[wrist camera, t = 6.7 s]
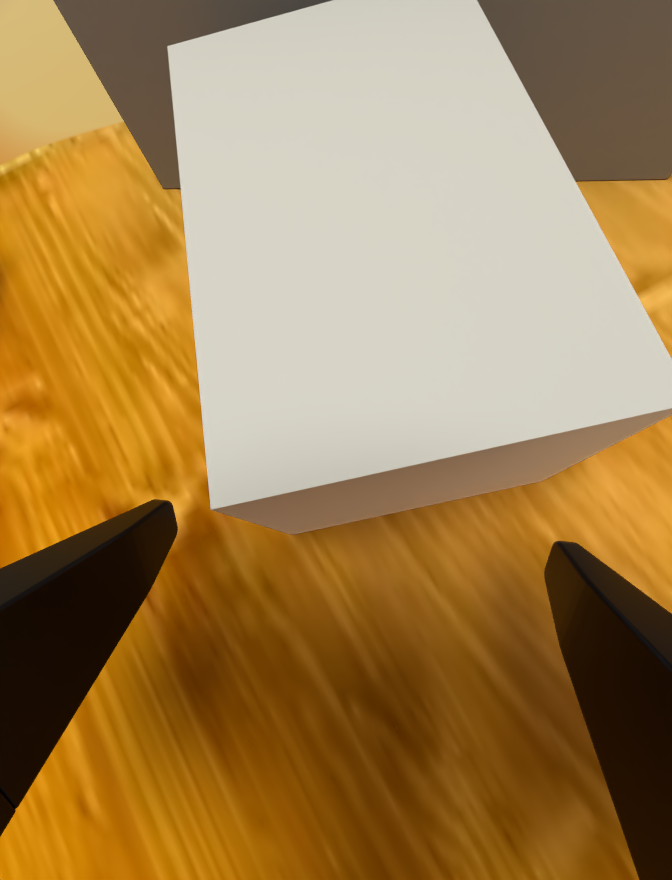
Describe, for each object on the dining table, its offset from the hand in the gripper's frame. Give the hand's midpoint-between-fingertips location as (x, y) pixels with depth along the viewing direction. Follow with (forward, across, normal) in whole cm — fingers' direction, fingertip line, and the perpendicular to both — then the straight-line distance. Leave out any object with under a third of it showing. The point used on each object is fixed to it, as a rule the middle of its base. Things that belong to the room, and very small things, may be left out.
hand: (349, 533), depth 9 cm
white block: (+11, 0, -2) cm, 11 cm away
